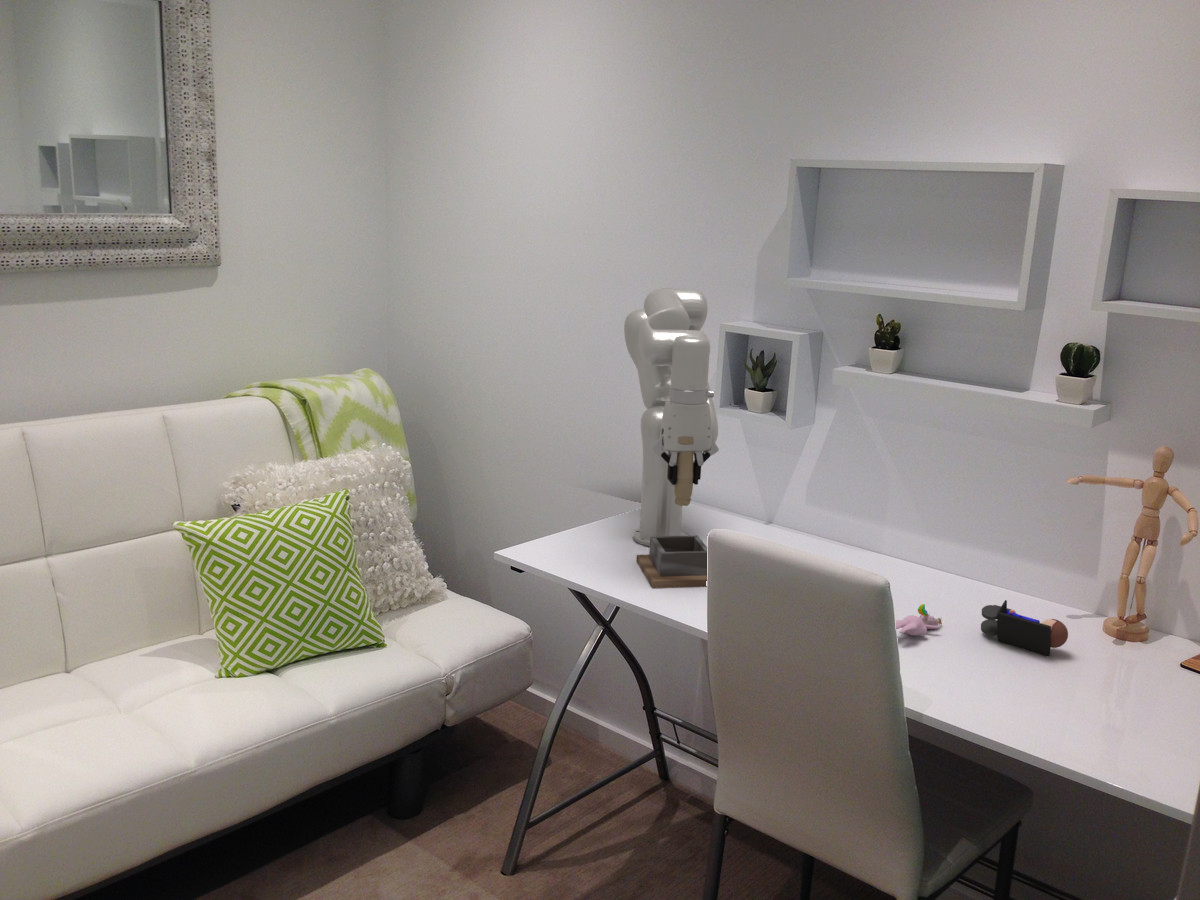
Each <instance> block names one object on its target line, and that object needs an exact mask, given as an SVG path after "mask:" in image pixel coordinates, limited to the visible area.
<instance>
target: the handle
mask: <svg viewBox="0 0 1200 900" xmlns="http://www.w3.org/2000/svg"><path fill="white" fill-rule="evenodd" d="M678 443H679V444H681V445H693V444H694V439H693V437H678ZM693 462H694V452H689V451H687V452H678V453H677V460H676V466H677V480H676V484H675V485H674V493H675V496H676V498H675V504H676V505H679V506H682V507H683V506H684V507H685V506H686V507H688V506H689V505H690V504H691V501H692V495H693V490H694V489H693V488H694V483H693V477H694V472H693Z"/></svg>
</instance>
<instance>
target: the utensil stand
mask: <svg viewBox="0 0 1200 900" xmlns="http://www.w3.org/2000/svg"><path fill="white" fill-rule="evenodd" d="M707 548H708V546H707V545H706V544H705V542H704V541H703V540H702V539H701V538H700V536H699V535H687V536H650V546H649V554H636V559H635V560H636V563H637V564H638V566H639V568H640V570H641V572H642V573H643V575H644V577H645V578H646V580H647V582H648V583H649V585H650V587H651V588H652V589H670V588H672V589H673V588H698V587H699V588H703V587H704V586H705V587H706V581H707ZM701 586H702V587H701Z"/></svg>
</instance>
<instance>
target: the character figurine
mask: <svg viewBox="0 0 1200 900" xmlns="http://www.w3.org/2000/svg"><path fill="white" fill-rule="evenodd" d="M1007 603H1008V601H1007V600H1006V599H1005V600H1004V601H1003V603H1002V604H1001V605H996V604H989V605H985V606H983V607H982V608H981V616H982V617H983V618H984V619H985V620H982V622H981V623H980V631H981V632H982V633H983V634H984V635H986V636H991V637H996V636H997V638H996V639H997V642H998V643H1000V644H1004V645H1007V646H1011V647H1014V648H1017V649H1019V650H1020V649H1021V650H1024V651H1027V652H1031V653H1034V654H1038V655H1040V656H1043V657H1044V656H1045V657H1047V658H1050V657H1051V652H1052V651H1051V650H1052V649H1051V648H1053V649H1056V648H1060V647H1062V646H1063V645H1065V644H1066V643H1067V641H1068V638H1069V631H1068V628H1067V627H1066V625H1065V623H1064V622H1062V621H1060V620H1058V619H1055V618H1049V619H1045V620H1044V621H1042V622H1041V621H1040V620H1039V619H1036V618H1032V617H1029V616H1025V615H1021V614H1018V613H1017V612H1016V611H1015V609H1012V608H1007V607H1008V604H1007Z"/></svg>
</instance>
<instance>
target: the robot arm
mask: <svg viewBox="0 0 1200 900" xmlns="http://www.w3.org/2000/svg"><path fill="white" fill-rule="evenodd" d="M708 309H709V308H708V301H707V299H706V296H705V295H704V294H703V292H702V291H700V290H699V289H695V288H671V287H670V288H658V289H657V288H656V289H654V290H653V291H651V292H649V293H648V294H647V295H646V297H645V299H644V302H643V308H640V309H636V310H633V311H631V312H630V313H629V314H627V316H626V317H625V320H624V327H623V331H624V332H623V334H624V341H625V346H626V350H627V351H628V354H629V356H630V358H631V360H632V363H633V364H634V365H635V368H636V369H637V370H636V371H637V374H638V381H639V387H640V393H641V397H642V399H641V400H642V402H643V404H644V407H645V408H646V410H644V412H643V413H642V415H641V418H640V433H641V442H642V474H641V475H642V477H641V478H642V479H641V494H640V495H641V496H640V497H641V498H640V499H641V500H640V516H639V517H640V518H639V519H640V520H639V521H640V522H639V528H637V529H636V530H634V532H633V534H632V539H633V540H634V541H635V542H636V543H637V544H641V545H643V546H646V547H650V536H688V534H687V533H686V532H684V531H682V518H683V506H679V505H676V504H675V498H676V496H675V493H674V485H675V484H676V480H677V466H676V460H677V453H678V452H687V451H689V452H694V455H693V472H694V477H693V485H695V486H696V485H699V481H700V480H701V476H702V474H701V473H702V466H703V465H704V463H706V461H707V460H708V459H709V458H710V457H711V456H713V455H715V454H716V453H718V452H719V450H720V449H719V447H718V445H717V443H716V442H717V440H718V436H719V421H718V417H717V412H716V408H715V404H714V399H713V398H714V397H715V392H714V391H713V390H712V389H711V388H710V387H711V386H710V383H709V370H710V369H709V367H710V366H709V365H710V354H711V341H710V339H709V338H708V336H707V333H705V332H704V331H701V330H702V329H703V326H704V325H705V322H706V320H707V316H708ZM678 437H693V439H694V444H693V445H681V444H679V443H678Z"/></svg>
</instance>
